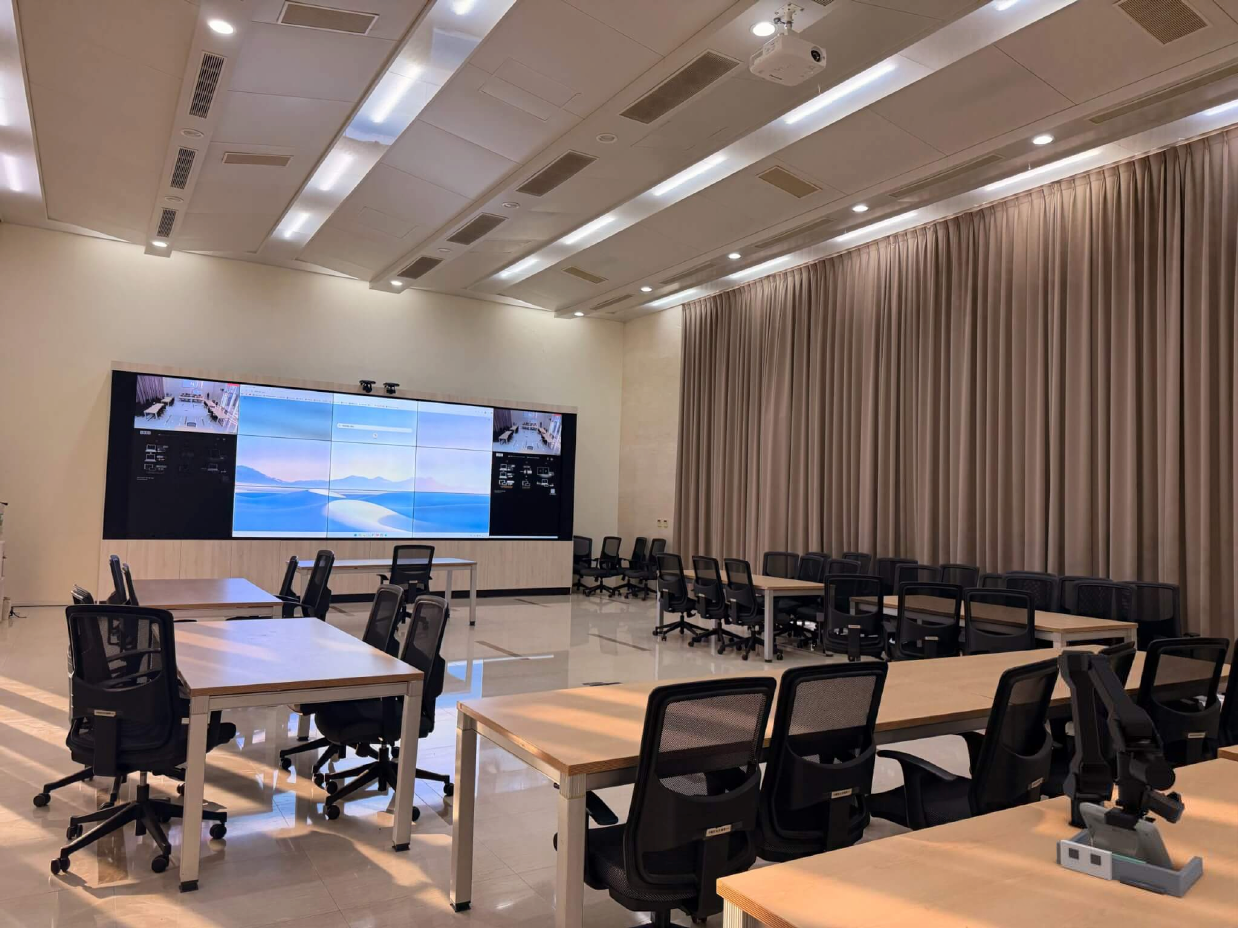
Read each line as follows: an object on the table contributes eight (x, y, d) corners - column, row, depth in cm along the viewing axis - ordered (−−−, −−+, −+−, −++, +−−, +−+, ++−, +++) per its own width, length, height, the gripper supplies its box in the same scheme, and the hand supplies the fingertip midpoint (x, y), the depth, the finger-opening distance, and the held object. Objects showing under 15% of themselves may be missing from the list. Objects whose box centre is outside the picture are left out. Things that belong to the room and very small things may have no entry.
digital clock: (1180, 874, 162) (1172, 820, 162) (1143, 886, 160) (1135, 831, 160) (1112, 841, 178) (1104, 791, 178) (1077, 851, 176) (1069, 801, 176)
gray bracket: (1054, 864, 169) (1053, 839, 170) (1085, 842, 182) (1084, 818, 182) (1177, 899, 154) (1176, 871, 154) (1202, 872, 166) (1201, 846, 166)
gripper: (1166, 794, 161) (1169, 878, 159) (1191, 775, 173) (1194, 853, 172) (1101, 781, 169) (1104, 861, 167) (1130, 764, 181) (1133, 838, 180)
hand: (1136, 853), depth 172 cm, fingers closed, pressing on digital clock
